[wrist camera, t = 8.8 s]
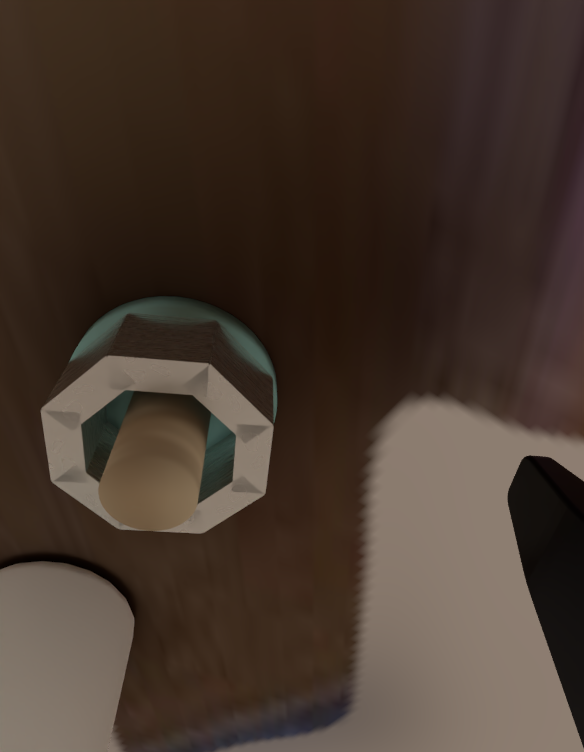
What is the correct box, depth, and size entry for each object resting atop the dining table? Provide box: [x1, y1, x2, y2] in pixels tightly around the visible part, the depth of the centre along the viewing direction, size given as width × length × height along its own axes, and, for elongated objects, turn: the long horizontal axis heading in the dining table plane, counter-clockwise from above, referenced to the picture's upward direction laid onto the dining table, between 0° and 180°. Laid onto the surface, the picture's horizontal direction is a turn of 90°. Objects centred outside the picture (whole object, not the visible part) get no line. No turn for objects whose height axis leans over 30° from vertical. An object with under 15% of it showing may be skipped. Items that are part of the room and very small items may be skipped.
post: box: [69, 296, 277, 531], centre depth 19 cm, size 8×8×6 cm
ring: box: [41, 313, 274, 534], centre depth 20 cm, size 7×7×3 cm
